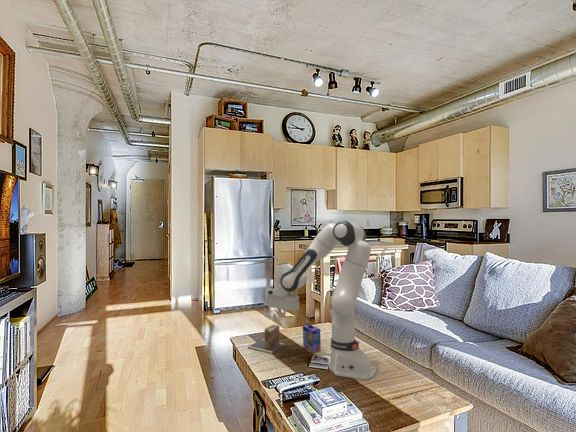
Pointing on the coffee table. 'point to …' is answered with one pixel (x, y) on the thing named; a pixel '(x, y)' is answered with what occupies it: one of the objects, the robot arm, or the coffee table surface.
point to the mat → (261, 346)
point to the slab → (271, 337)
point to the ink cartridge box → (311, 338)
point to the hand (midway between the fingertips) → (282, 316)
